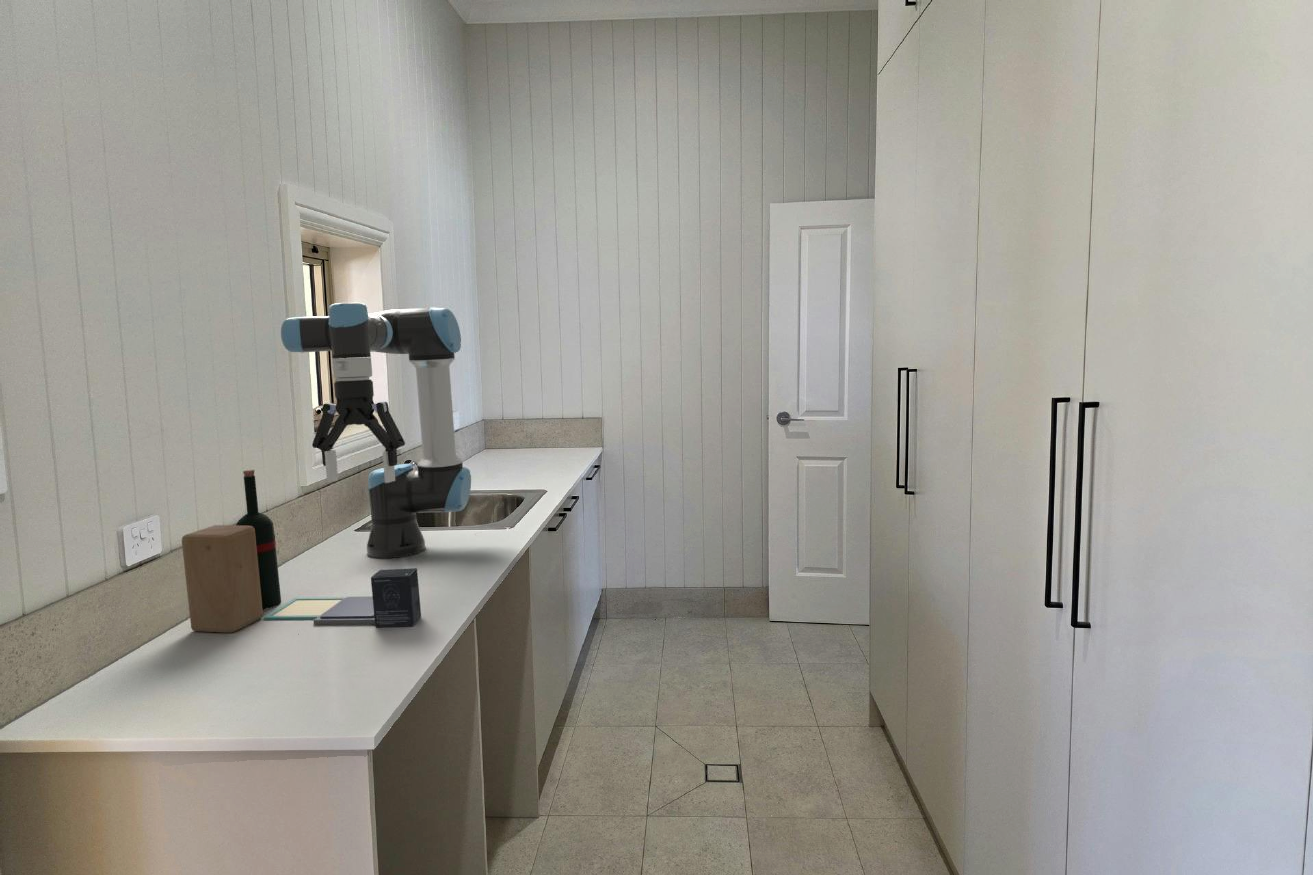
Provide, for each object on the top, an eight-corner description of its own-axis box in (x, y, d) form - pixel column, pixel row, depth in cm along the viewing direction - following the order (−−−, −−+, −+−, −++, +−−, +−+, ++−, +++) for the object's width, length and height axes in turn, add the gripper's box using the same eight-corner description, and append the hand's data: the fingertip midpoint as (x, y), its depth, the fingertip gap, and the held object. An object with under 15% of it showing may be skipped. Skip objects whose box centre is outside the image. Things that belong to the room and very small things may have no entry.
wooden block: (233, 634, 169) (222, 536, 167) (189, 632, 171) (178, 535, 169) (265, 617, 179) (256, 524, 176) (223, 616, 181) (214, 524, 178)
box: (421, 617, 175) (417, 567, 174) (413, 626, 170) (409, 575, 168) (383, 618, 175) (379, 568, 174) (374, 628, 170) (370, 576, 169)
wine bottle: (292, 595, 194) (280, 465, 190) (271, 610, 184) (257, 473, 180) (258, 596, 194) (245, 466, 190) (235, 611, 184) (221, 474, 180)
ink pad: (346, 601, 188) (345, 595, 188) (403, 600, 187) (403, 594, 187) (313, 624, 173) (313, 618, 173) (376, 624, 172) (375, 617, 172)
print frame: (295, 600, 190) (294, 597, 190) (355, 599, 189) (355, 597, 189) (264, 619, 178) (263, 617, 178) (328, 618, 176) (328, 616, 176)
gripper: (288, 381, 174) (297, 484, 177) (397, 378, 168) (405, 485, 170) (312, 379, 182) (320, 478, 184) (417, 376, 175) (424, 478, 178)
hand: (361, 481), depth 177 cm, fingers open, 13 cm apart
